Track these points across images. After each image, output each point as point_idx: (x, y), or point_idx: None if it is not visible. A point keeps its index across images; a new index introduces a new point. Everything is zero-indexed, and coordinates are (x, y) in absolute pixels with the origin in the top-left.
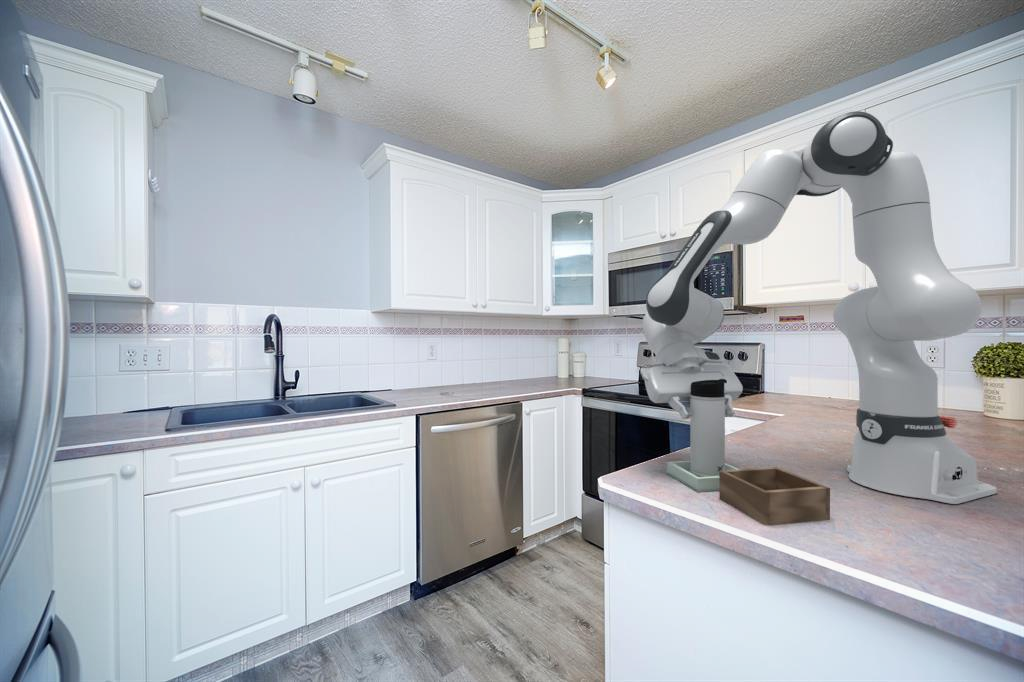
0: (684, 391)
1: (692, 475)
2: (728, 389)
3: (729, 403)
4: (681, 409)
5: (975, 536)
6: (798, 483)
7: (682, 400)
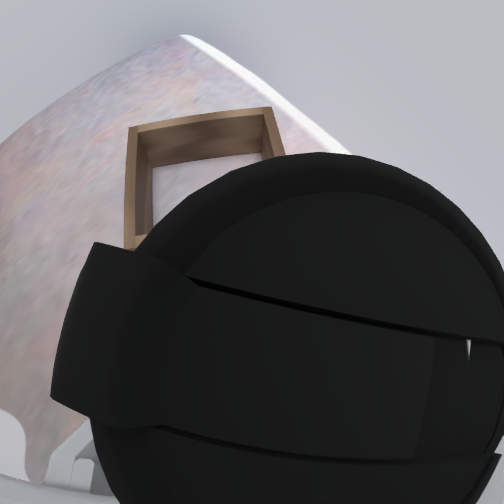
0: None
1: None
2: (30, 496)
3: None
4: None
5: (30, 137)
6: (139, 182)
7: None
